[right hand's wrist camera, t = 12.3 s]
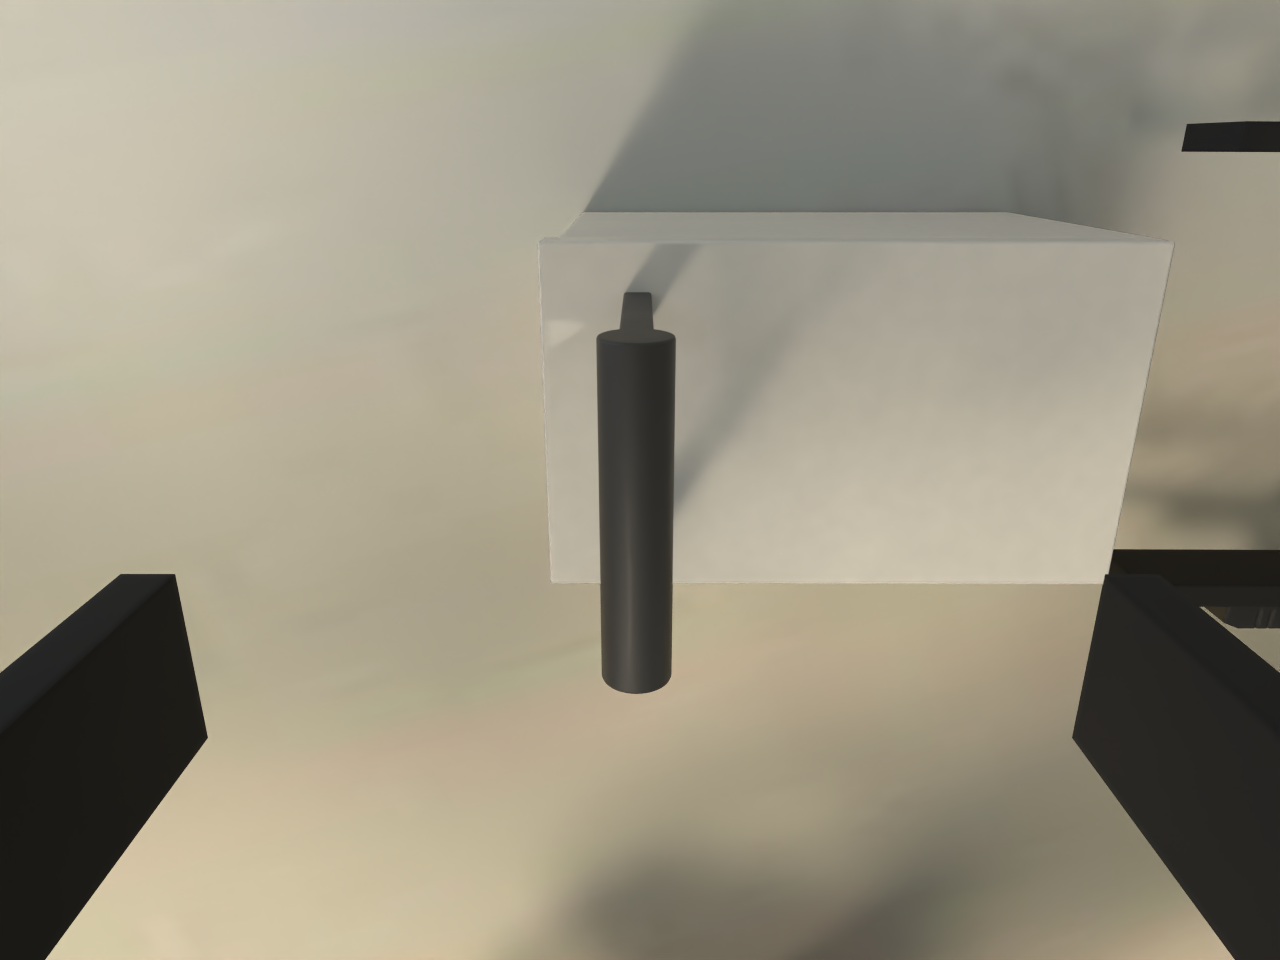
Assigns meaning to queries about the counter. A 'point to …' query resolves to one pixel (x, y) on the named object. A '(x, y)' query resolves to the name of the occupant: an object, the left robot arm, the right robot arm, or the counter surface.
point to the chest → (826, 225)
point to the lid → (835, 414)
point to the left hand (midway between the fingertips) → (1159, 376)
